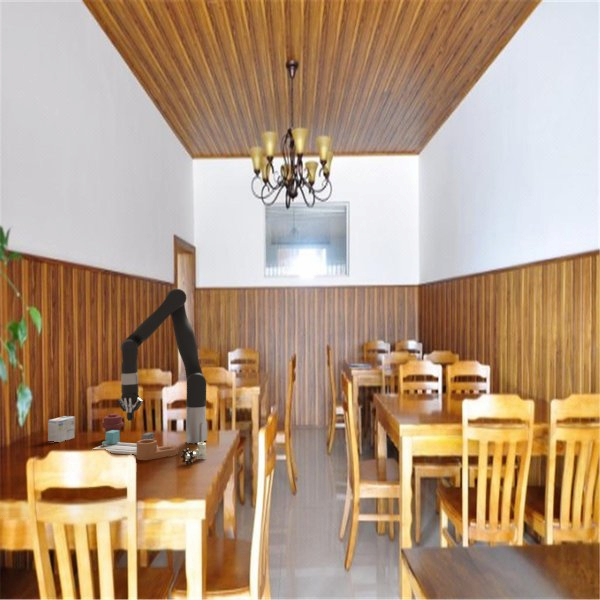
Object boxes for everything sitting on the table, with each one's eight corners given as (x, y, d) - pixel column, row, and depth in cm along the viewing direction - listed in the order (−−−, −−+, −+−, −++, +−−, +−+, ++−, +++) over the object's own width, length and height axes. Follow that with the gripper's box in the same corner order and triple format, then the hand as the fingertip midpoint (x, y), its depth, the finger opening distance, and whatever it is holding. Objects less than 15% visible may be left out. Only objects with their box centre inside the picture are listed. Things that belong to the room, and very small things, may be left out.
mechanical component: (107, 436, 247) (126, 437, 246) (97, 441, 237) (117, 442, 236) (108, 412, 248) (127, 412, 247) (98, 416, 238) (117, 416, 237)
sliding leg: (119, 442, 230) (119, 430, 230) (106, 446, 221) (107, 435, 221) (112, 441, 231) (112, 430, 231) (99, 446, 222) (99, 434, 222)
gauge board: (157, 447, 226) (157, 444, 226) (141, 455, 213) (141, 451, 213) (110, 444, 232) (110, 441, 232) (92, 451, 220) (92, 447, 220)
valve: (198, 456, 212) (180, 464, 201) (198, 441, 212) (180, 447, 201) (210, 458, 209) (193, 466, 198) (210, 442, 209) (193, 449, 198)
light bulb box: (64, 437, 247) (65, 415, 248) (75, 438, 245) (75, 416, 245) (47, 442, 237) (47, 419, 237) (57, 443, 235) (58, 420, 235)
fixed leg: (153, 445, 225) (153, 432, 226) (142, 450, 216) (142, 437, 217) (147, 444, 226) (148, 432, 226) (136, 449, 217) (136, 437, 217)
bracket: (140, 461, 205) (140, 444, 205) (134, 457, 211) (134, 440, 212) (181, 454, 215) (181, 438, 215) (174, 450, 222) (174, 435, 222)
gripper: (147, 381, 229) (147, 419, 228) (122, 381, 232) (122, 418, 231) (137, 384, 221) (138, 422, 221) (112, 383, 225) (113, 421, 224)
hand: (130, 420), depth 226 cm, fingers closed
